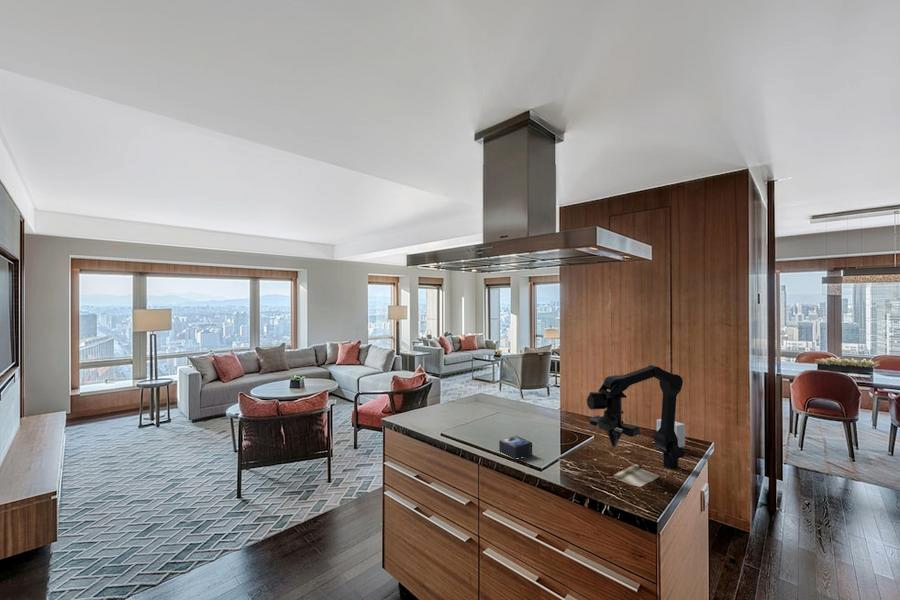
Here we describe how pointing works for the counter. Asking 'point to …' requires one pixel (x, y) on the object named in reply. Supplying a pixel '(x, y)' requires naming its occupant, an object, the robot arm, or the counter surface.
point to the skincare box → (679, 431)
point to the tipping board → (635, 476)
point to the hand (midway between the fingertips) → (614, 446)
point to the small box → (515, 447)
